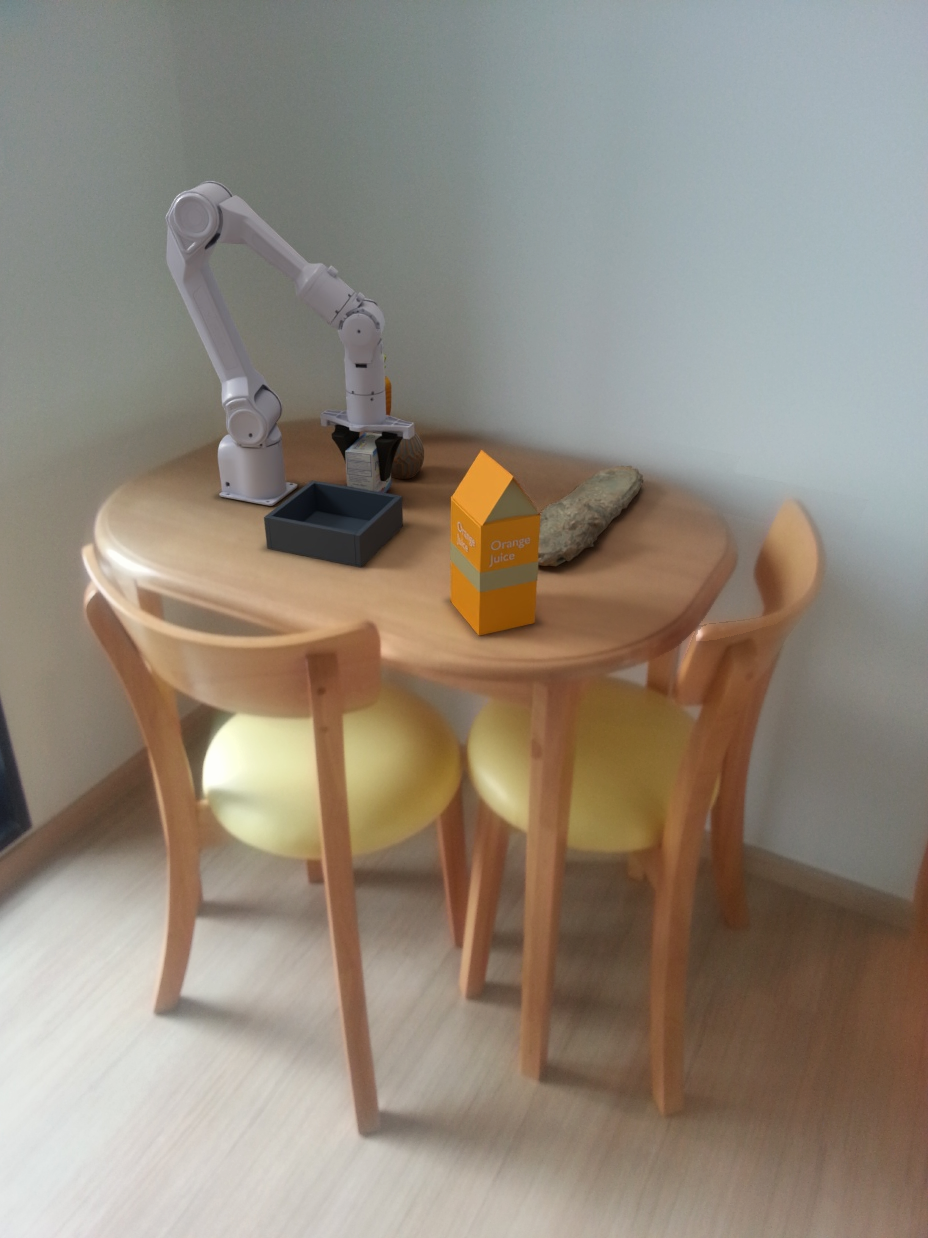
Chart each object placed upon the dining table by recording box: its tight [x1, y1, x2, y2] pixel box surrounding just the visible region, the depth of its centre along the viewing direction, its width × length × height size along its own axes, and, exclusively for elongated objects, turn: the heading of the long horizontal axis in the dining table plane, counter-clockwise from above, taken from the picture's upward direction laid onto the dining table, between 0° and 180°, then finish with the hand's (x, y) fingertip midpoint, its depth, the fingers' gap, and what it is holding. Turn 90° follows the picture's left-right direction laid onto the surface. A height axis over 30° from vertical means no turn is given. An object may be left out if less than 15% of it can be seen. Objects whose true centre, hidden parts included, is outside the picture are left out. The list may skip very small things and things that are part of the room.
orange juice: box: [449, 448, 541, 636], centre depth 115 cm, size 8×9×20 cm
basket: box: [263, 480, 404, 568], centre depth 136 cm, size 15×14×5 cm
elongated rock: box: [538, 465, 644, 567], centre depth 141 cm, size 35×5×10 cm
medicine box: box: [345, 432, 392, 493], centre depth 146 cm, size 8×4×9 cm, turn 165°
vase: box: [391, 420, 425, 480], centre depth 154 cm, size 7×7×9 cm
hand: (369, 476), depth 147 cm, fingers closed on medicine box, 5 cm apart
